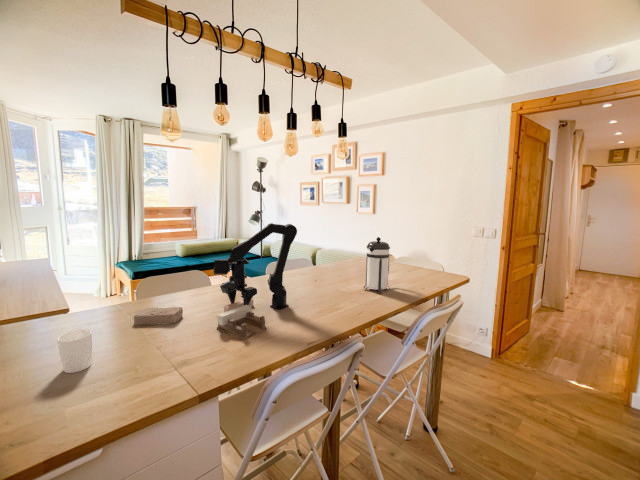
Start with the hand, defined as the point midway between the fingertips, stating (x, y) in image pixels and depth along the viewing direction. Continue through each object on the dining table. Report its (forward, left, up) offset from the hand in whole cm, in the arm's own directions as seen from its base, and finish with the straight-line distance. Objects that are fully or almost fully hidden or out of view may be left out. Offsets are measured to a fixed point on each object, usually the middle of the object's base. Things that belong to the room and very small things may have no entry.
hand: (239, 306), depth 139 cm
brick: (+28, -16, -2) cm, 33 cm away
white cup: (+60, 0, -1) cm, 60 cm away
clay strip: (0, 0, -2) cm, 2 cm away
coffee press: (-69, +36, -1) cm, 78 cm away
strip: (+13, +14, +2) cm, 19 cm away
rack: (+13, +18, -1) cm, 22 cm away
